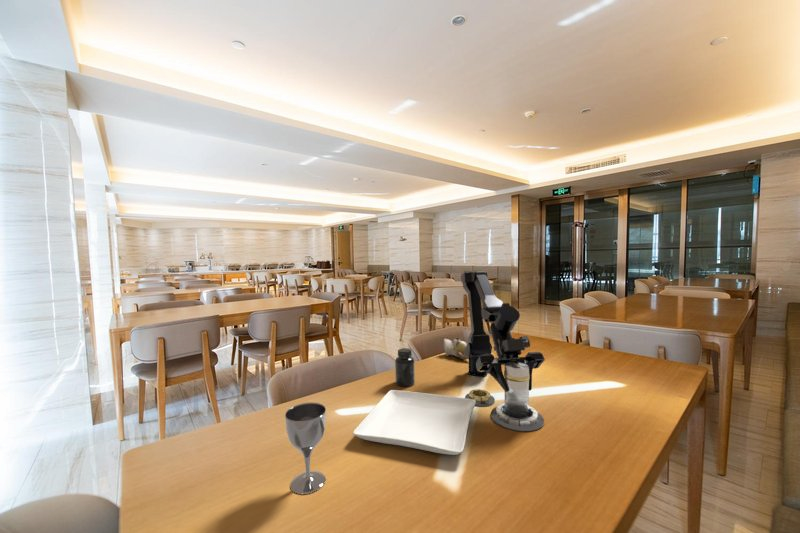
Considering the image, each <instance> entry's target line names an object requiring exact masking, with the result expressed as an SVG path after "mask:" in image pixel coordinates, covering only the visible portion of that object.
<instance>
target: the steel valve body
mask: <svg viewBox="0 0 800 533" xmlns="http://www.w3.org/2000/svg"><path fill="white" fill-rule="evenodd" d="M503 375H504V378H505V381H506V384H507V388H508V391H507V392H505V391H504V403H505V412H506V413H507V414H508V415H510V416H513V417H519V418H522V417H526V416H528V415H529V406H530V391H529V379H530V374H529V366H528V365H526V364H523V363H519V362H509V363H506V364H505V365H504V371H503Z"/></svg>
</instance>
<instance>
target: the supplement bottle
mask: <svg viewBox="0 0 800 533" xmlns="http://www.w3.org/2000/svg"><path fill="white" fill-rule="evenodd" d="M394 364H395V366H394V368H395V369H394V370H395V371H394V372H395V373H394V374H395V375H394V376H395V377H394V378H395V379H394V380H395V384H396V386H399V387H400V388H401V387H402V388H407V387H408V388H410V387H411V386H413V385H415V383H416V382H415V381H416V374H415V373H416V372H415V370H416V369H415V358H414V357H413V353H412V349H411V348H406V347H405V348H399V349H397V357H396V358H395V360H394Z"/></svg>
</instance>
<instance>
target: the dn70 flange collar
mask: <svg viewBox="0 0 800 533" xmlns="http://www.w3.org/2000/svg"><path fill="white" fill-rule="evenodd" d="M490 418H491V420H492V421H493V422H494V423H495V424H497V426H500V427H502V428H504V429H507V430H511V431H514V432H525V433H527V432H534V431H538V430H540V429H542V428H543V427H544V424H545V419H544V416H543V415H542V414H540V413H539V411H537V410H536V409H535V408H534V407H532V406H530V405H529V415H528V416H526V417H522V418H519V417H513V416H510V415H508V414H507V413H506V412H505V402H502V403H500V404H498V405H497V406H495V407H493V408H492V409H491V411H490Z"/></svg>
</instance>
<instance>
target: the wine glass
mask: <svg viewBox="0 0 800 533" xmlns="http://www.w3.org/2000/svg"><path fill="white" fill-rule="evenodd" d="M326 414H327V409H326V406H325V405H324V404H322V403H320V402H303V403H299V404H296V405H294V406H291V407H290V408H288V409H287V411H286V412H285V415H284V416H285V418H284V419H285V430H286V435H287V438H288V441H289V443H290V444H291V445H292V446H293V447H294V448H295V449H296V450H297V451H299V452H300V453H301V454H302V456H303V459H304V463H305V471H303V472H301V473H299V474H297V475H296V476H295V477H293V478H292V480H291V482H290V483H289V488H291V489H290V491H291V490H292V491H293V492H292V491H291V492H292V493H294V492H295V493H298V494H302V493H303V494H307V495H310V494H309V493H311V492H314V491H316V490H318V489H319V490H321V489H322V488H323V487H324V486H323V485H325V484H326V482H327V479H326V478H325V477H326V475H325V474H324V473H323V472H322V471H320V470H319V471H318V470H310V469H311V467H310V465H311V456H312V453H313V451H314V450H315V449H316V447H317V446H318V445H319V444H320V442H322V439H323V437H324V433H325V430H326V429H325V428H326V424H327V422H326V421H327V417H326V416H327V415H326ZM325 481H326V482H325ZM324 482H325V483H324ZM322 486H323V487H322ZM321 487H322V488H321ZM320 488H321V489H320ZM319 490H318V491H319ZM316 492H317V491H316ZM295 493H294V494H295ZM314 493H315V492H314ZM298 494H297V495H298ZM311 494H312V493H311Z"/></svg>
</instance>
